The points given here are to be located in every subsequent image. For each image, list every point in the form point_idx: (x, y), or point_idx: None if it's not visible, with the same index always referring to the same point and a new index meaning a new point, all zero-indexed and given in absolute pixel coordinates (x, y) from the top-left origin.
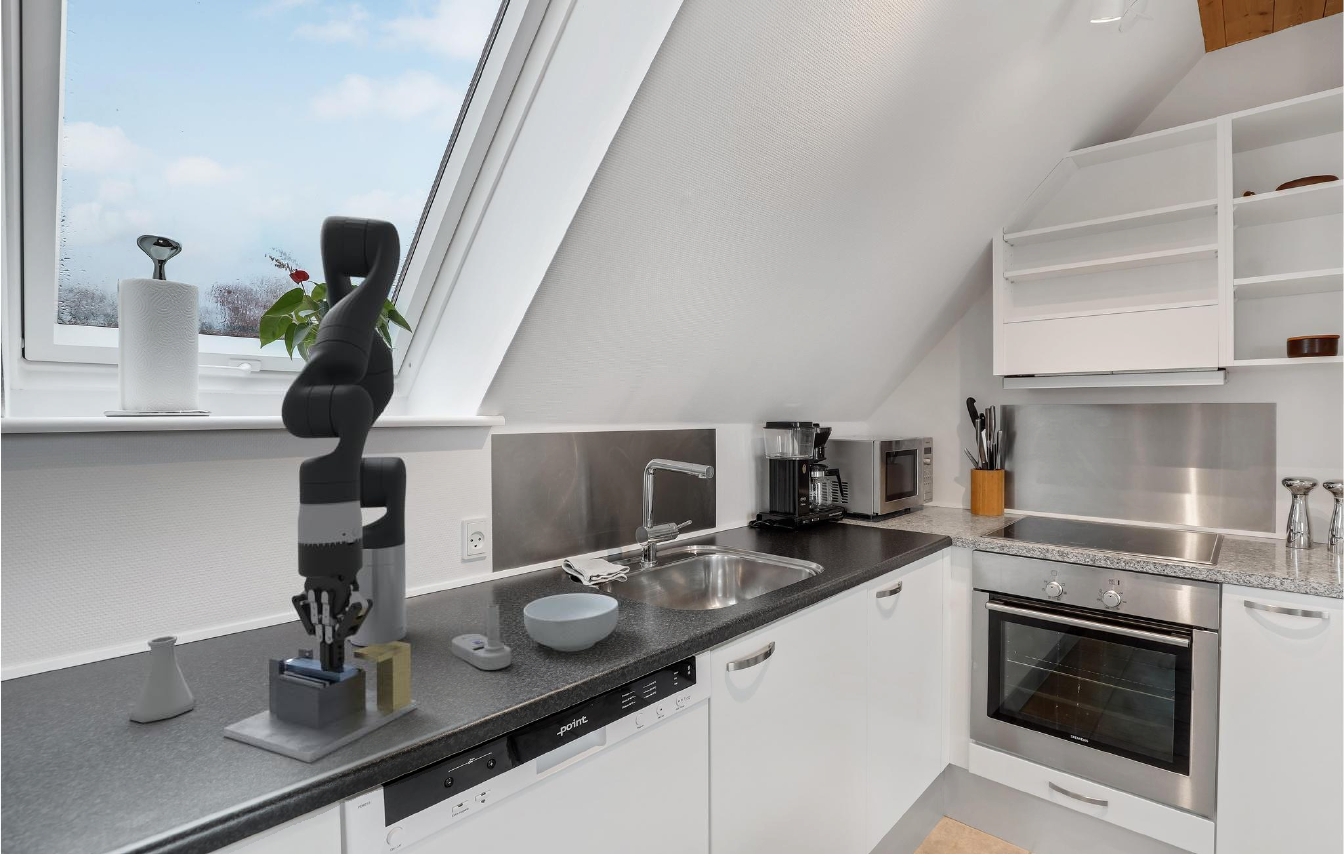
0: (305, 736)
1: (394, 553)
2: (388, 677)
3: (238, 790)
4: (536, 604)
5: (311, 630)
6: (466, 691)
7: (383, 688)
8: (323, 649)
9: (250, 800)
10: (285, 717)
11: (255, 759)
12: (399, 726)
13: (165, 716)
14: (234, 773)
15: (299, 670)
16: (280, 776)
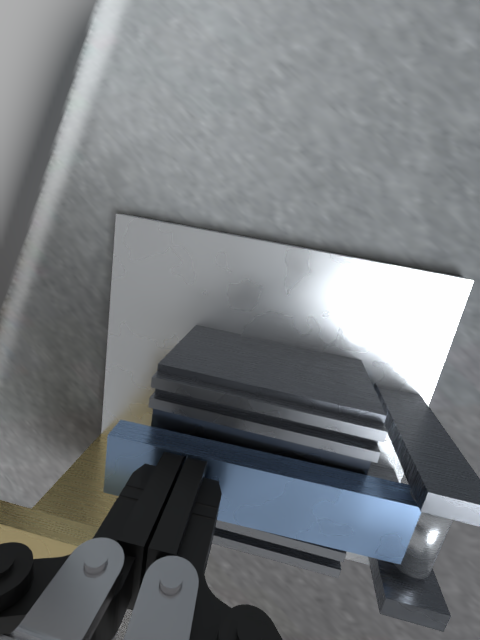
0: (199, 288)
1: None
2: (66, 496)
3: (178, 55)
4: None
5: (231, 636)
6: None
7: (104, 476)
8: (165, 520)
9: (112, 28)
10: (324, 355)
11: (265, 193)
12: (76, 400)
13: None
14: (258, 119)
15: (331, 474)
16: (138, 142)
